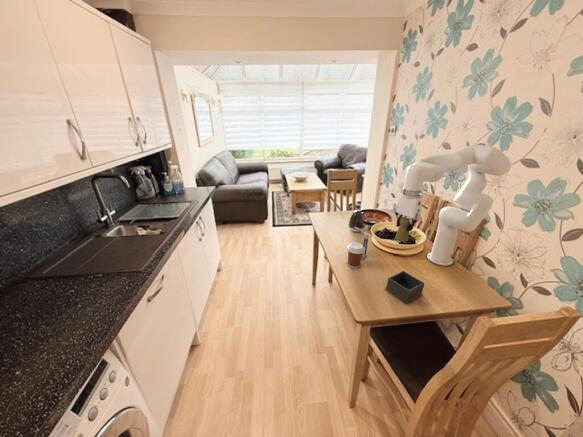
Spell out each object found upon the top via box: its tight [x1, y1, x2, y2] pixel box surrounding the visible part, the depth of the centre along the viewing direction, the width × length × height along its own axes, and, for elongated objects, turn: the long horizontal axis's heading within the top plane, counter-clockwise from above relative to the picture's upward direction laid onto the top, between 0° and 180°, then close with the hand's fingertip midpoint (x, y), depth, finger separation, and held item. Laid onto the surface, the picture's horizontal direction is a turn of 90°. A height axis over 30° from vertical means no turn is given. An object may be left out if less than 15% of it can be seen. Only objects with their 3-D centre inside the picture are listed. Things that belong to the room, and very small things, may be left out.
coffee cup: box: [346, 242, 365, 269], centre depth 129 cm, size 9×9×12 cm
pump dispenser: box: [348, 210, 366, 233], centre depth 167 cm, size 10×10×15 cm
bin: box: [385, 270, 425, 305], centre depth 110 cm, size 11×11×7 cm
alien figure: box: [355, 225, 380, 259], centre depth 136 cm, size 20×5×19 cm, turn 30°
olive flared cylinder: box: [394, 216, 410, 242], centre depth 116 cm, size 6×6×11 cm
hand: (404, 228), depth 116 cm, fingers closed on olive flared cylinder, 5 cm apart
